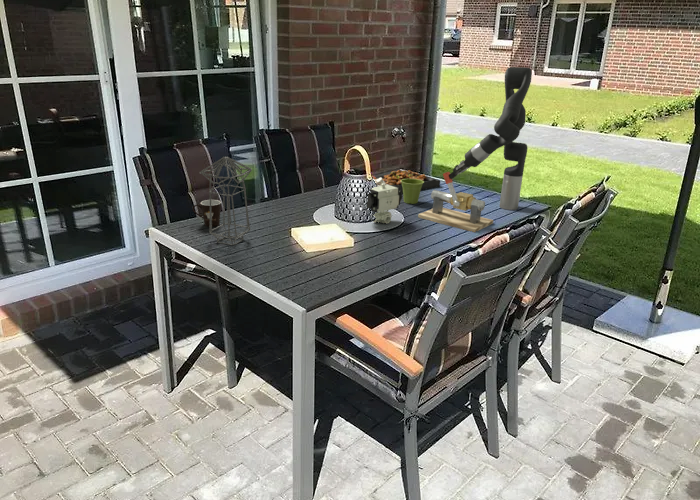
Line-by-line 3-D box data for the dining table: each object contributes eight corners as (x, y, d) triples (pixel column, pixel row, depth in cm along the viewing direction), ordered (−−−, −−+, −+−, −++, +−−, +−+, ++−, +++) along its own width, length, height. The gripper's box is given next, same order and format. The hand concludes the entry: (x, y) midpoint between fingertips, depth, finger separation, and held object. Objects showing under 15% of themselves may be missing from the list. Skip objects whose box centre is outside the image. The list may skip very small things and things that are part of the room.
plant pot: (425, 201, 287) (427, 180, 283) (415, 206, 278) (417, 185, 274) (405, 197, 293) (407, 177, 289) (395, 202, 284) (396, 181, 280)
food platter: (376, 197, 293) (377, 179, 290) (351, 186, 312) (351, 169, 308) (439, 188, 317) (441, 170, 313) (412, 178, 336) (413, 161, 332)
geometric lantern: (256, 238, 228) (254, 155, 214) (234, 251, 215) (230, 164, 201) (225, 231, 234) (220, 150, 220) (201, 244, 220) (195, 158, 207)
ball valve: (372, 228, 245) (374, 189, 239) (361, 222, 251) (362, 185, 245) (402, 221, 255) (405, 184, 249) (390, 216, 262) (393, 180, 255)
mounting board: (437, 209, 275) (438, 206, 274) (493, 223, 257) (493, 220, 257) (418, 217, 262) (418, 214, 261) (474, 232, 244) (475, 229, 244)
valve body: (435, 209, 269) (437, 186, 264) (483, 222, 253) (486, 197, 249) (426, 213, 263) (428, 189, 259) (475, 226, 248) (478, 201, 243)
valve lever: (456, 207, 251) (444, 173, 251) (461, 205, 249) (449, 171, 249) (454, 208, 250) (442, 174, 249) (459, 206, 248) (447, 171, 247)
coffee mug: (226, 223, 245) (224, 201, 241) (213, 228, 237) (212, 206, 234) (205, 219, 249) (203, 197, 245) (192, 224, 242) (190, 202, 238)
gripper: (480, 145, 242) (453, 168, 254) (465, 149, 232) (438, 172, 244) (489, 158, 241) (462, 181, 252) (475, 163, 231) (447, 186, 243)
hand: (450, 177), depth 248 cm, fingers closed
